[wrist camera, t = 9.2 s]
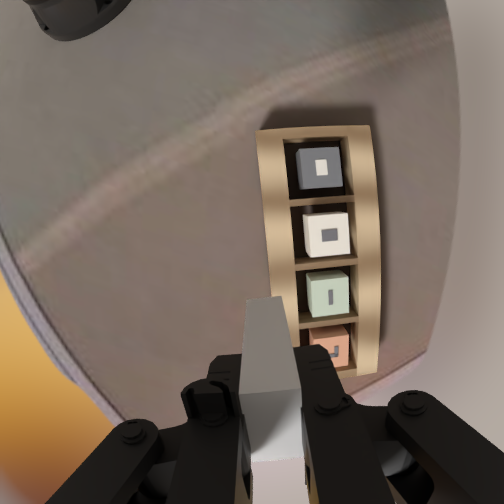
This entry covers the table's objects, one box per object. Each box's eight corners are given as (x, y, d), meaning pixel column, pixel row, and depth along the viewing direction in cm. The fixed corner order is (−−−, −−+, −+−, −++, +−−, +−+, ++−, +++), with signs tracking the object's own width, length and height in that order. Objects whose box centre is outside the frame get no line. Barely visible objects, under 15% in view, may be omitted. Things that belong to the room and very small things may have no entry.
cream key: (302, 214, 30) (307, 216, 27) (338, 211, 30) (348, 213, 26) (305, 251, 30) (310, 257, 27) (341, 247, 30) (350, 253, 27)
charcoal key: (295, 153, 30) (299, 148, 26) (330, 151, 30) (338, 146, 26) (299, 189, 30) (303, 188, 27) (334, 187, 30) (343, 186, 27)
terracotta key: (308, 326, 33) (313, 340, 29) (341, 322, 33) (349, 335, 29) (309, 355, 33) (314, 370, 30) (341, 351, 33) (348, 365, 30)
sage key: (306, 272, 32) (311, 281, 28) (340, 269, 32) (348, 277, 28) (307, 306, 32) (312, 317, 29) (340, 302, 32) (349, 313, 29)
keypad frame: (255, 136, 30) (255, 130, 27) (360, 131, 30) (369, 125, 27) (278, 372, 35) (279, 386, 32) (368, 359, 34) (376, 372, 31)
